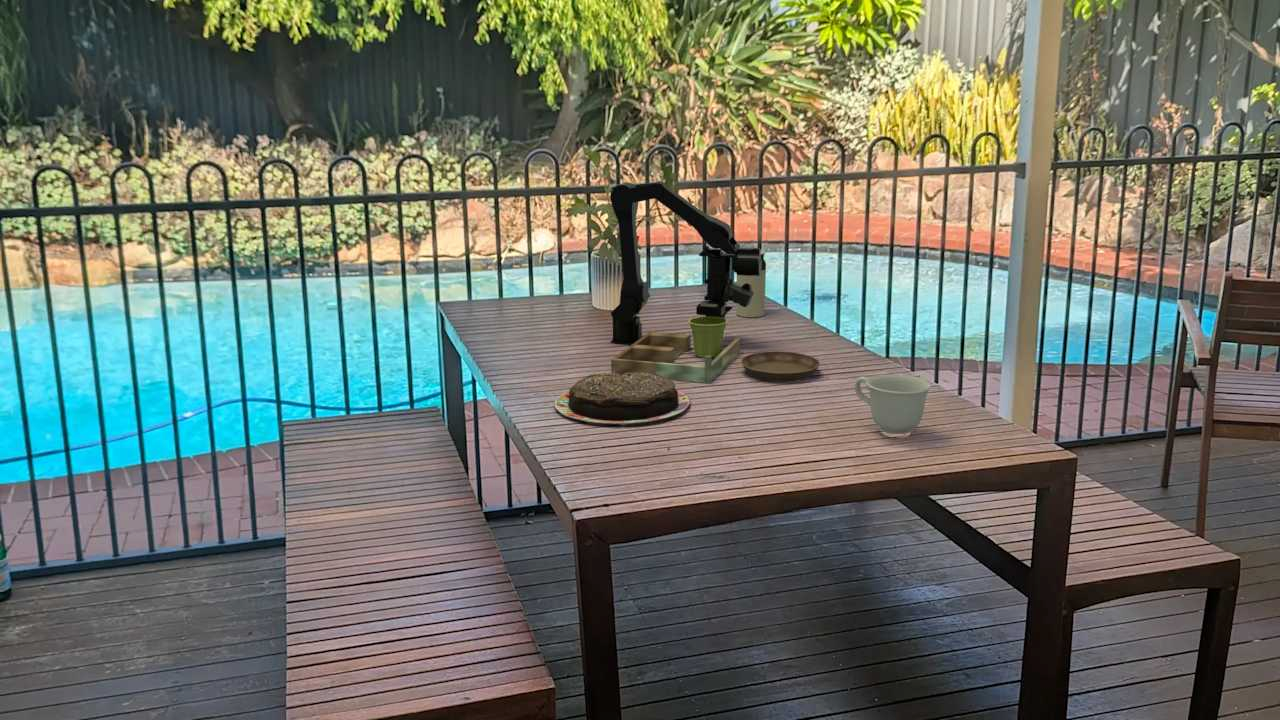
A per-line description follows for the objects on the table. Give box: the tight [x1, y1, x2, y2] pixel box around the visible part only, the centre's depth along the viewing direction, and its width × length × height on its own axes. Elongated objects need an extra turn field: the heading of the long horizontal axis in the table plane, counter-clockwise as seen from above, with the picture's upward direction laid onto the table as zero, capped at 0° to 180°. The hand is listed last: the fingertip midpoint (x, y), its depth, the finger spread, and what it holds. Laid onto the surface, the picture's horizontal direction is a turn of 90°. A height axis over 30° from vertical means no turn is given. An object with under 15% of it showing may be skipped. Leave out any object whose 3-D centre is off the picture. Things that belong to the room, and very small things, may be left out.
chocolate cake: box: [553, 372, 691, 428], centre depth 222 cm, size 28×28×7 cm
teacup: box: [854, 373, 933, 434], centre depth 205 cm, size 12×15×10 cm
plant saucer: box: [740, 351, 820, 383], centre depth 246 cm, size 18×18×3 cm
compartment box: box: [610, 331, 741, 384], centre depth 254 cm, size 23×28×6 cm
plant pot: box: [688, 316, 728, 359], centre depth 260 cm, size 9×9×9 cm
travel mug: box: [735, 249, 767, 319], centre depth 301 cm, size 8×8×18 cm
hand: (717, 336), depth 269 cm, fingers closed
